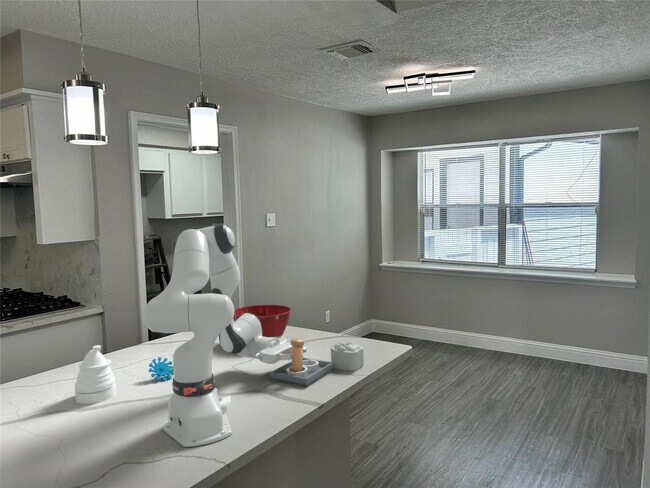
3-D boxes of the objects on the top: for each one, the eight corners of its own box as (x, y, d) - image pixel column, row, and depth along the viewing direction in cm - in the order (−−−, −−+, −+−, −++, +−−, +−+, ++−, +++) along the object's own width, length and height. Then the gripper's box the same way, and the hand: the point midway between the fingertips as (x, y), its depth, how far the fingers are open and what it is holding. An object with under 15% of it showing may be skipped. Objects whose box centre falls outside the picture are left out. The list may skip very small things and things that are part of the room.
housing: (270, 380, 179) (270, 370, 178) (299, 364, 196) (299, 355, 196) (307, 387, 171) (306, 377, 170) (334, 369, 188) (333, 361, 188)
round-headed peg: (306, 376, 179) (306, 341, 178) (294, 378, 176) (294, 342, 175) (300, 372, 183) (300, 337, 182) (287, 374, 181) (288, 339, 180)
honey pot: (124, 392, 171) (121, 342, 169) (93, 406, 159) (89, 353, 157) (98, 387, 176) (95, 339, 175) (67, 400, 164) (63, 349, 163)
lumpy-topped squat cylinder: (354, 371, 185) (353, 349, 185) (325, 366, 192) (325, 345, 191) (366, 364, 194) (366, 343, 193) (338, 359, 201) (338, 339, 200)
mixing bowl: (238, 334, 245) (237, 304, 244) (294, 332, 245) (293, 303, 243) (226, 351, 217) (225, 317, 215) (289, 349, 216) (288, 315, 215)
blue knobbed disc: (151, 380, 177) (147, 357, 182) (147, 388, 180) (142, 365, 185) (180, 377, 184) (175, 354, 189) (175, 385, 187) (170, 363, 192)
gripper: (251, 348, 176) (282, 353, 169) (283, 334, 194) (312, 338, 187) (251, 365, 177) (282, 370, 170) (283, 350, 194) (312, 354, 187)
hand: (298, 353), depth 179 cm, fingers open, 8 cm apart
